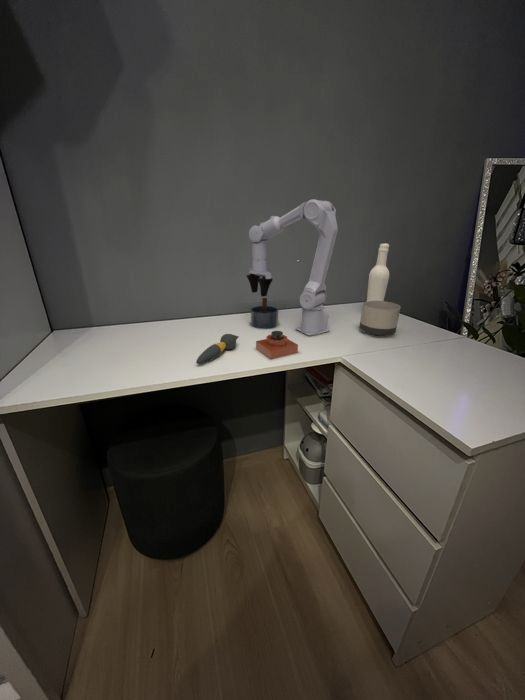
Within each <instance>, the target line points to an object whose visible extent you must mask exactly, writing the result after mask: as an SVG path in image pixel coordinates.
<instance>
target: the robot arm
mask: <svg viewBox="0 0 525 700" xmlns="http://www.w3.org/2000/svg"><path fill="white" fill-rule="evenodd" d="M336 213H337V209H336V208H335V206H334V205H333V204H332V202H331V201H329V200H319V199H313V198H312V199H309V200H307V201H305V202H303V203H301V204H300V205H298V206H297V207H295V208H293V209H292V210H290V211H289V212H287V213H286V214H284V215H282V216H281V217H280V216H278V215H271V216H270V217H269V219H268V220H266V221H262V222H260V224H259V225H252V226H251V227H250V229H249V231H248V238H249V240H250V241H251V268H248V274H247V275H246V279H247V280H248V282H249V285H250V289H251V290H250V291H251V293H253V294H254V293H258V290H259V289H260V297H263V298H264V297H267V296H268V292H269V289H270V286H271V284H272V283H273V278H272V273H270V272H269V271H268V269H267V267H268V265H267V263H268V245H269V240H270V239H271V238H274V237H275V236H277V235H279V234H281V233H283V232H284V229H285V227H287V226H289V225H291V224H294V223H297V222H298V221H300V220H303V219H305V220H306V221H308V223H310V224H311V225H313V227H315V229H316V230H317V232H318V233H319V236H318V240H317V245H316V249H315V254H314V258H313V261H312V266H311V271H310V275H309V279H308V282H307V283H306V285H305V286H304V288H303V291H302V293H301V294H300V296H299V299H298V301H299V305H300V307H301V323H300V324H301V325H300V327H296V328H295V330H296V331H298V332H300V333H302V334H304V335H306V336H309V337H311V336H314V335H319V334H323V333H324V334H325V333H329V329H328V325H329V311H328V309H327V307H325V306H323V304H324V303H325V302H326V300H327V288H328V287H327V285H326V283H325V282H326V279H327V275H328V270H329V267H330V262H331V258H332V256H333V255H332V254H333V251H334V247H335V243H336V239H337V236H338V231H339V227H338V223H337V217H336Z"/></svg>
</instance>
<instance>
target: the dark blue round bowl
mask: <svg viewBox="0 0 525 700" xmlns="http://www.w3.org/2000/svg"><path fill="white" fill-rule="evenodd" d="M260 311H262V305H258V306H254V307H251V308H250V326H251V327H253V328H256V329H261V330H262V329H265V330H266V329H267V330H268V329H274V328H276V327H277V326H278V325H279V309H278V307H275V306H272V305H271V306H270V305H267V311H269V312H271V313H258V312H260Z"/></svg>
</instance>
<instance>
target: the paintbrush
mask: <svg viewBox="0 0 525 700" xmlns="http://www.w3.org/2000/svg"><path fill="white" fill-rule="evenodd" d="M239 338H240V336H239V335H236V334H231V333H225V334H223V335H222V336H221V337H220V342H217V343H213V344H211V345H210V346H209V347H207V348H205V349H204V350H203V351H202V353H200V355H198V357H197V359H196V362H195V363H196V364H197V365H203V364H206V363H208V362H211V361H213V360H214V359H216V358H217V357H219V356H220V355H221V354H222V353H223V351H224V350H232V349H234V348H235V346H236V344H237V340H238V339H239Z"/></svg>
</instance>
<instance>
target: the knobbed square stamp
mask: <svg viewBox="0 0 525 700" xmlns="http://www.w3.org/2000/svg"><path fill="white" fill-rule="evenodd" d="M255 349H256V350H257V351H258V352H260V353H261V354H262V355H264V356H265V357H266V358H268V359H270V360H272V359H273V360H274V359H278V358H281V357H286V356H289V355H293V354H297V353H298V352H299V344H297V343H296V342H294V341H292V340H291V339H289V338H288V336H287V335H285V334H283V339H282V340H273V339H271V334H268V335H266V338H265V339H259V340H256V341H255Z"/></svg>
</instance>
